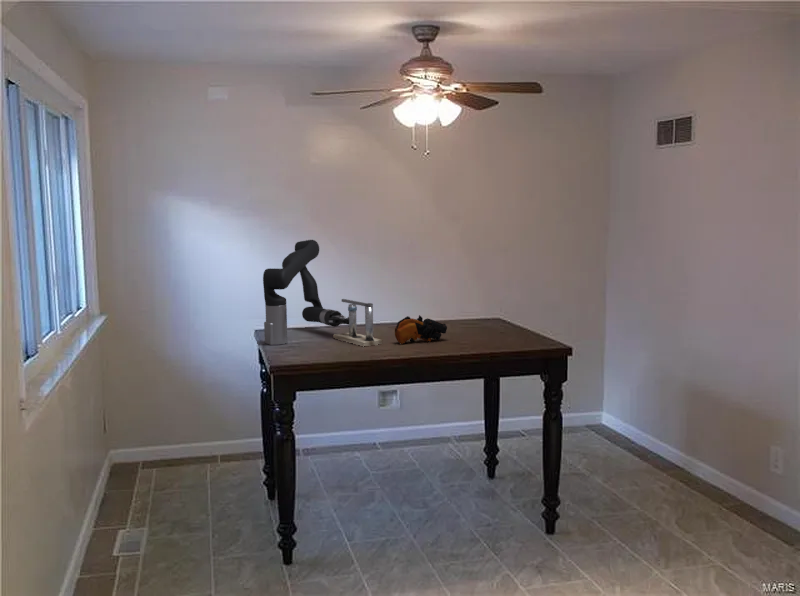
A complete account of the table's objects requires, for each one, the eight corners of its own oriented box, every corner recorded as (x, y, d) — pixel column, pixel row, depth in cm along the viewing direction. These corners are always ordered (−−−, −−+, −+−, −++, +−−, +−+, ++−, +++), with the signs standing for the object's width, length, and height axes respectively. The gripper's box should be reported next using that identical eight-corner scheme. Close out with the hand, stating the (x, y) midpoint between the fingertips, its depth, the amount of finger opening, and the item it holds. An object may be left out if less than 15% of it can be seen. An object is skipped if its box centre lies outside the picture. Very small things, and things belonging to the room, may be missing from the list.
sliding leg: (351, 336, 342) (351, 305, 340) (346, 335, 345) (346, 304, 344) (358, 335, 344) (358, 304, 343) (354, 334, 348) (353, 303, 346)
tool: (439, 358, 340) (451, 326, 340) (394, 342, 332) (406, 309, 332) (432, 354, 348) (443, 323, 348) (388, 338, 340) (400, 307, 339)
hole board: (363, 347, 329) (363, 342, 329) (333, 338, 349) (333, 334, 349) (382, 344, 335) (382, 339, 335) (351, 336, 355) (351, 332, 355)
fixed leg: (368, 341, 332) (367, 304, 330) (340, 333, 351) (339, 298, 348) (374, 340, 334) (374, 303, 332) (346, 333, 353) (345, 298, 350)
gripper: (318, 311, 355) (338, 315, 341) (342, 308, 363) (362, 312, 349) (318, 327, 356) (338, 332, 342) (342, 324, 364) (363, 328, 350)
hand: (350, 322), depth 346 cm, fingers closed
